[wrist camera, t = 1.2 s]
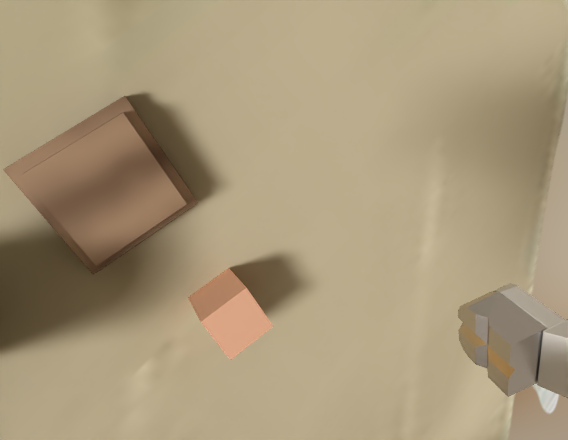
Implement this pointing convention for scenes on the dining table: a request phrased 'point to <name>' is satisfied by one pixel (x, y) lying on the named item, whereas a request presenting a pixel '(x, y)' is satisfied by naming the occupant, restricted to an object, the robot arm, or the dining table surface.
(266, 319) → the block
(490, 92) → the dining table surface
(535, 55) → the dining table surface
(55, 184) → the plinth
